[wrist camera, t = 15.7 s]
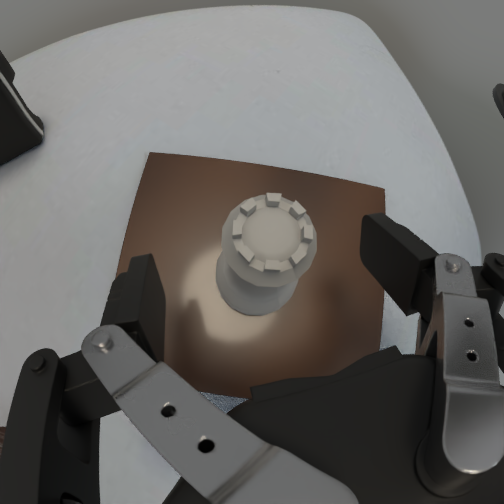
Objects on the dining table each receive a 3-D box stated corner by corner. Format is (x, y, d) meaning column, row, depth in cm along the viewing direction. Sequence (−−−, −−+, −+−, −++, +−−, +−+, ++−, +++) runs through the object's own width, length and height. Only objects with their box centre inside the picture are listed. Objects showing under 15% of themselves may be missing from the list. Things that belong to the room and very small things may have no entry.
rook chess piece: (310, 289, 17) (368, 254, 9) (242, 331, 16) (249, 332, 9) (268, 224, 18) (291, 147, 10) (200, 262, 17) (175, 206, 9)
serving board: (381, 191, 20) (384, 188, 19) (368, 403, 16) (371, 405, 15) (151, 155, 19) (149, 151, 19) (104, 367, 16) (100, 368, 15)
